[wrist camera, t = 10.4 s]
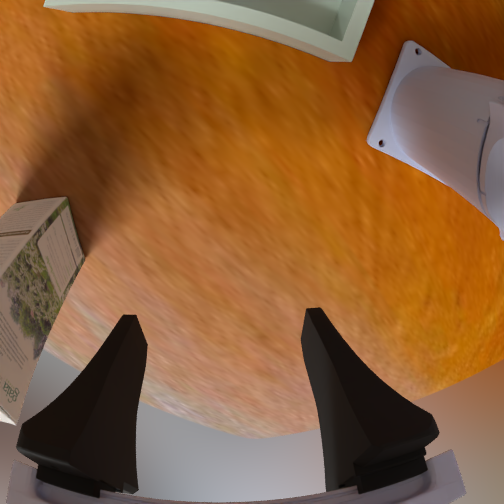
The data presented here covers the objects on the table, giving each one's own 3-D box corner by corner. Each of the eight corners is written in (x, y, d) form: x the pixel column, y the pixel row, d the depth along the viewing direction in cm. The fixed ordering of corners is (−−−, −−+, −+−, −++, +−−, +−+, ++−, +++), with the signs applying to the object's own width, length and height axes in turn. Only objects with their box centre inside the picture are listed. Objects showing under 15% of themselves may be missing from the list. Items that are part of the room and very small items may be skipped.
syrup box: (13, 201, 18) (-98, 340, 6) (71, 193, 18) (-50, 363, 6) (34, 261, 21) (-42, 404, 9) (89, 260, 21) (19, 430, 9)
